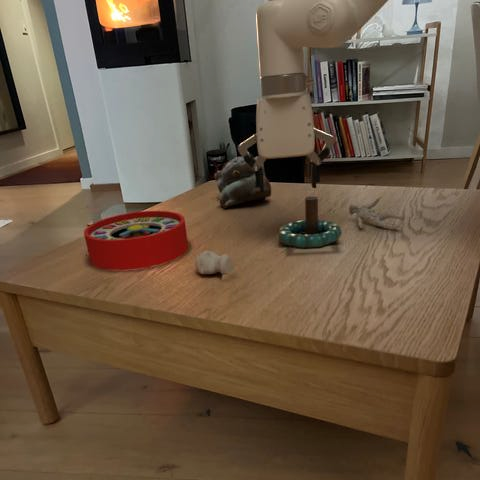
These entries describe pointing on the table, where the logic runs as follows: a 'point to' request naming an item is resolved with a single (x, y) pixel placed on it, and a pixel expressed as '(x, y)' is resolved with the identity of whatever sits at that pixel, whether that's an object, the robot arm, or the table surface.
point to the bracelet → (307, 241)
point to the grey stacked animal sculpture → (240, 183)
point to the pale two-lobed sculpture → (214, 263)
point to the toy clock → (136, 240)
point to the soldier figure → (373, 215)
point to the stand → (312, 218)
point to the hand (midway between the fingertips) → (287, 188)
